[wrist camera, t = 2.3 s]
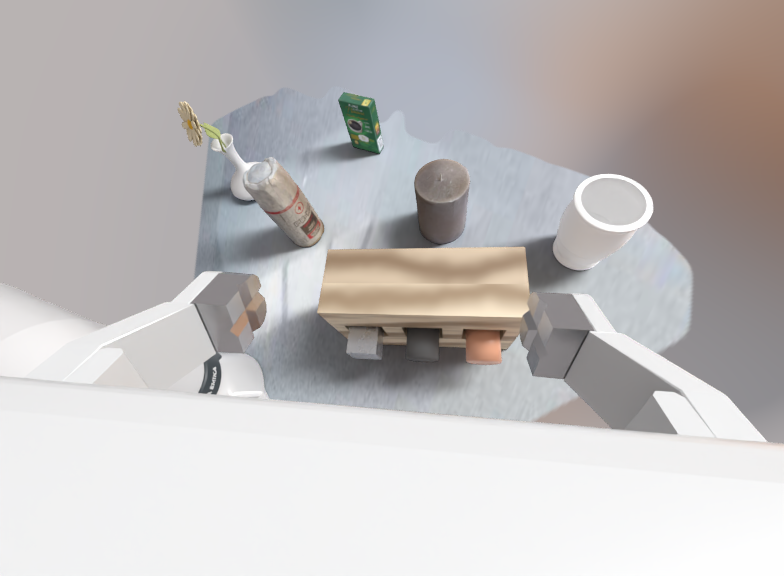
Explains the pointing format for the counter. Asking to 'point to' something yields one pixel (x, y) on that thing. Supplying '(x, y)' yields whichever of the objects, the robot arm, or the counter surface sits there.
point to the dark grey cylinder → (422, 344)
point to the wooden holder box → (427, 291)
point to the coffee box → (362, 122)
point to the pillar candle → (442, 200)
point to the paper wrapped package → (283, 202)
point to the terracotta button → (483, 347)
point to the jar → (600, 220)
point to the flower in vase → (217, 148)
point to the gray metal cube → (365, 342)
